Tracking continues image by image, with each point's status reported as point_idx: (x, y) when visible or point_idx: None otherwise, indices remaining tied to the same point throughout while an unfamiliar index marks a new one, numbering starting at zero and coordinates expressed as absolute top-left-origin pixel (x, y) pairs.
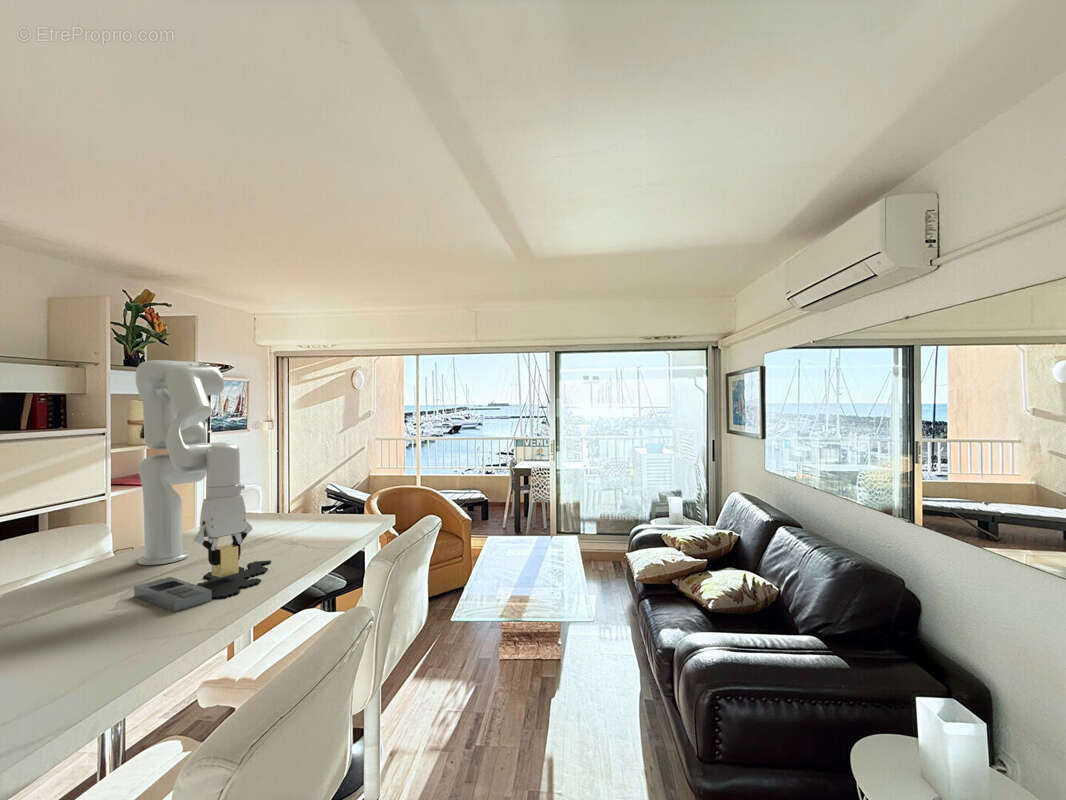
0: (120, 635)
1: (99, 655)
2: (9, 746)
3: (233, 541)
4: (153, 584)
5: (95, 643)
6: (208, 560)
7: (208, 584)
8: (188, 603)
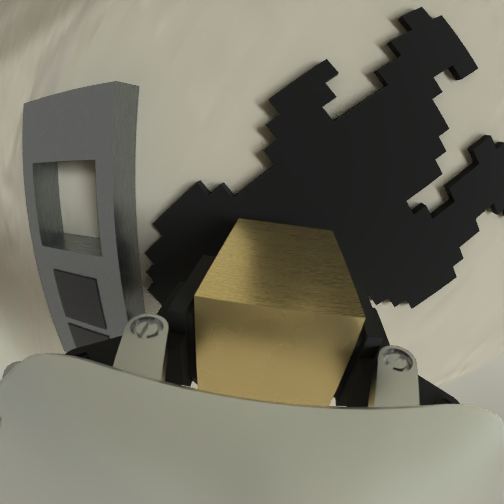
0: (20, 330)
1: (14, 356)
2: None
3: (364, 379)
4: (48, 143)
5: (3, 321)
6: (178, 284)
7: (205, 244)
8: None
